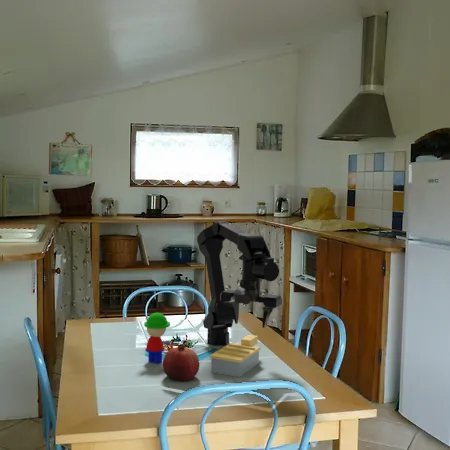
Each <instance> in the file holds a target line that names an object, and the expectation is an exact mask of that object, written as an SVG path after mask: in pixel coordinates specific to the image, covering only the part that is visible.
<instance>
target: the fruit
mask: <svg viewBox="0 0 450 450" xmlns="http://www.w3.org/2000/svg"><path fill="white" fill-rule="evenodd" d="M162 369H163V372H164V374H165V375H166V376H167V377H168V378H170V379H171V380H175V381H179V382H186V381H189V380H192V379H194V377H196V375H197V374H198V372H199V370H200V359H199V357H198V355H197V353H196V351H194V350H193V349H190V348H189V347H186V345H185V344H184V343H179V344H178V345H177V347H174V348H170V349H169V350H167V352H166V353H165V354H164V357H163V359H162Z"/></svg>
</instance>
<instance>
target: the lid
mask: <svg viewBox="0 0 450 450" xmlns="http://www.w3.org/2000/svg"><path fill="white" fill-rule="evenodd" d="M258 339H259V337H258V335H253V334H248V335H245V336H244V337H243V338H241V339H240V343H236V342H231V343H230V342H229V343H230V344H228V345H226V346H221V347H222V348H220V349H218V350H216V351H215V352H213V353H212V354H210V355H209V357H210V359H212V358H214V359H220V360H225V361H231V362H237V363H241V362H243V361H244V360H246V359H247V358H249V357H250V356H252V355H253V354H255V353H256V352H258V351H259V352H260V351H261V346H256V345H257V344H258Z"/></svg>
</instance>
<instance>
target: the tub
mask: <svg viewBox="0 0 450 450" xmlns="http://www.w3.org/2000/svg"><path fill="white" fill-rule="evenodd" d="M259 359H260V350H259V351H258V352H256V353H255V354H253V355H252V356H250V357H249V358H247V359H246V360H244V361H243V362H241V363H237V362H231V361H225V360H220V359H214V358H211V359H210V360H211V361H210V362H211V363H210V364H211V367H210V372H211V373H214V374H220V375H224V376H231V377H235V378H241V377H243V376H244V375H245V374H247V373H248V372H249V371H251V370H252V369H253V368H254V367H256V366H257V365H259V362H260V360H259Z"/></svg>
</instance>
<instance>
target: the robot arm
mask: <svg viewBox="0 0 450 450" xmlns="http://www.w3.org/2000/svg"><path fill="white" fill-rule="evenodd" d="M225 240H228V241H230V243H233V244H235V245H236V249H237V250H238V251H240V253H241V255H240V256H239V257H238V259H239V261H242V264H241V265H242V268H241V269H242V270H241V274H242V275H241V279H240V281H239V286H238V287H237V288H236V289H225V284H224V276H223V270H222V263H221V253H222V250H223V248H224V242H225ZM196 241H197V245H198V250H199V251H200V253H201V254H202V255H203V257H204V258H205V264H206V271H207V279H208V285H209V290H210V291H209V293H210V297H211V298H210V302H209V303H208V304H209V305H208V307H207V313H208V314H207V315H206V316H205V318H204V319H203V321H202V323H203V328H205V329H207V341H206V342H207V343H206V345H207V344H208V345H211V346H221V347H225V346H227V345H228V344H230V332H229V328H233V324H238V323H239V318H240V317H239V316H240V315H239V313H240V304H243V305H250V303H251V302H255V303H261V304H263V305H264V306H263V307H262V310H263V312H262V321H261V322H262V325H261V326H262V328H263V329H265V327H266V325H267V323H268V320H269V319H270V316H271V314H272V313H273V310H275V309H276V308H278V307H280V306H282V304H283V298H282V296H281V295H279V294H268V295H266V296H263V295H262V293H263V292H262V291H261V283H262V282H263V281H267V282H274V281H275V280H277V278H278V277H279V275H280V269H279V265H278V264H277V263H276V262H275V258H273V257H272V255H271V252H270V250H269V248H268V245H267V243H266V240H265V238H264V237H263V236H262V235H261V234H256V233H248V232H245V231H243V230H241V229H239V228H238V227H236V226H234V225H232V224H230V223H229V222H227V221H214V222H213V223H212V224H211V225H209V226H208V227H205V228H203V229H202V230H201V232H199V233H198V235H197V237H196Z"/></svg>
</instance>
